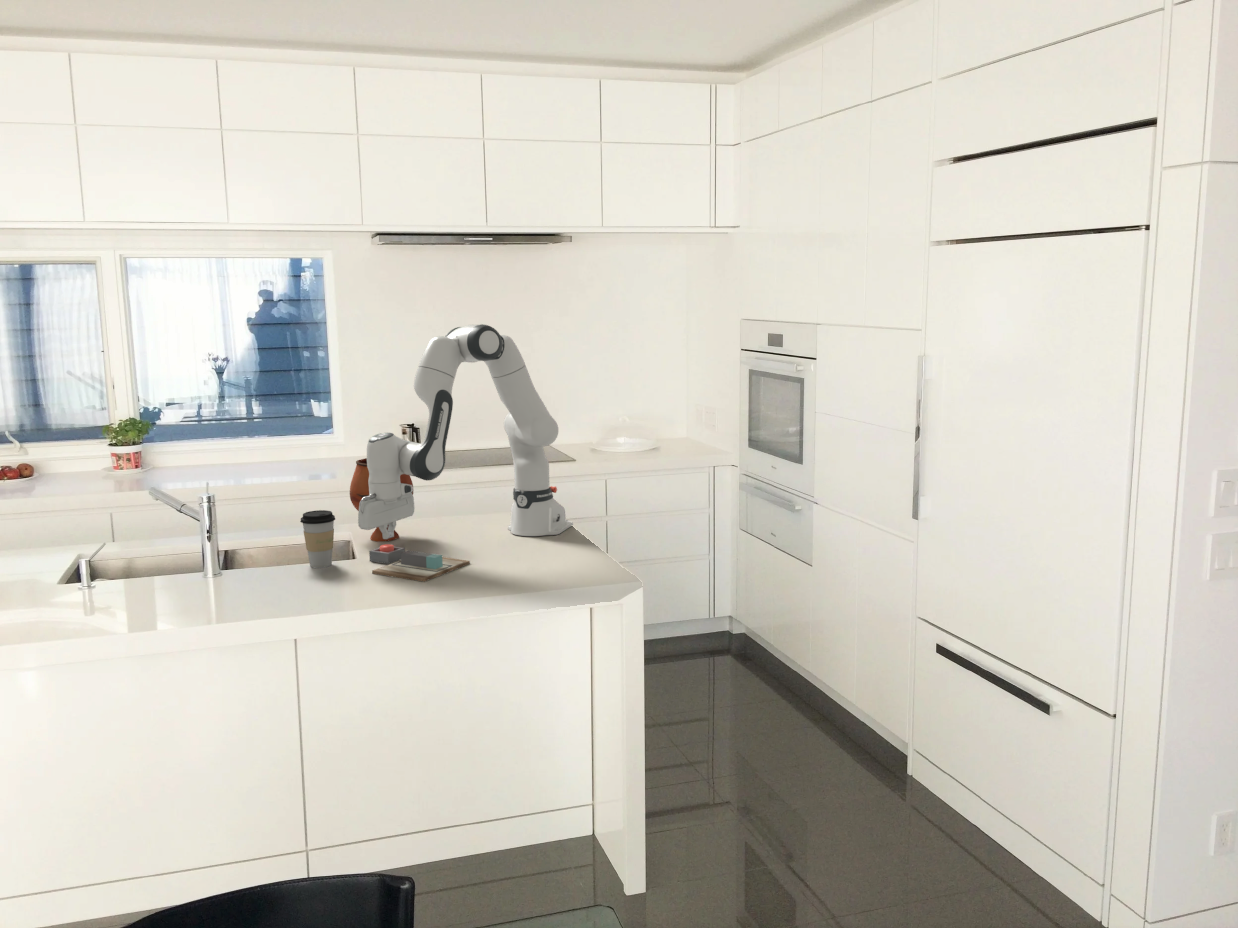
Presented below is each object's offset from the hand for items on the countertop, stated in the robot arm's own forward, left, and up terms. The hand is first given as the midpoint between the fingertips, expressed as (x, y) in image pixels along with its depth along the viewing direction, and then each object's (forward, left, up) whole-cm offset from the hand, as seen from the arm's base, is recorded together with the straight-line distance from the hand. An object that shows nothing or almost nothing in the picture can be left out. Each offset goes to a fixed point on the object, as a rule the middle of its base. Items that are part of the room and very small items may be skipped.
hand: (388, 538), depth 288 cm
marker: (+3, +15, -5) cm, 16 cm away
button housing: (0, 0, -6) cm, 6 cm away
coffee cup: (+13, -13, -7) cm, 20 cm away
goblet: (-19, -18, -7) cm, 27 cm away
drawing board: (+3, +15, -6) cm, 16 cm away
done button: (0, 0, -5) cm, 5 cm away
